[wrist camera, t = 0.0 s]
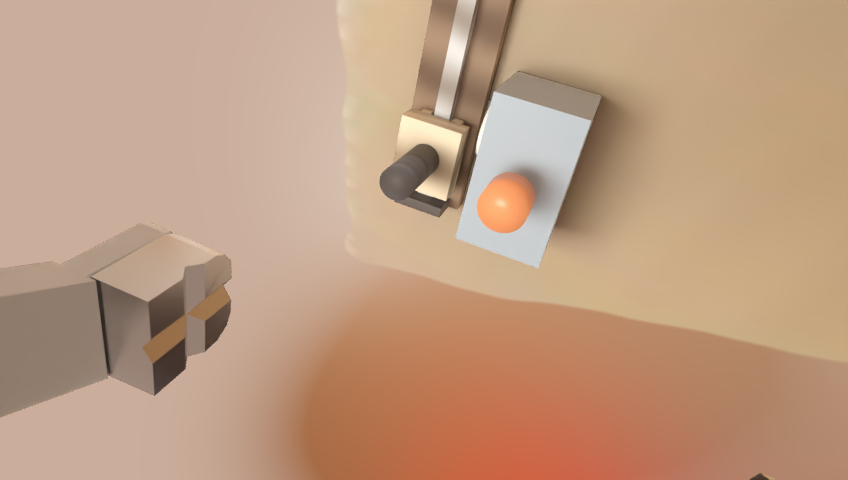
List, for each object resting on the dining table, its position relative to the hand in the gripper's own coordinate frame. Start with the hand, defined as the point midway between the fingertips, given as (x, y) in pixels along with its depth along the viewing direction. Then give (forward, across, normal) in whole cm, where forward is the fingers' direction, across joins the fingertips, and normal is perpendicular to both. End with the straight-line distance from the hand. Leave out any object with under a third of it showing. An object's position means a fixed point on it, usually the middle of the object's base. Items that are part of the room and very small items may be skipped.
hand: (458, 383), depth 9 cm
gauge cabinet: (+48, +4, +13) cm, 50 cm away
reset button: (+36, +4, +13) cm, 39 cm away
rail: (+48, +14, +8) cm, 51 cm away
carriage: (+46, +14, +15) cm, 51 cm away
